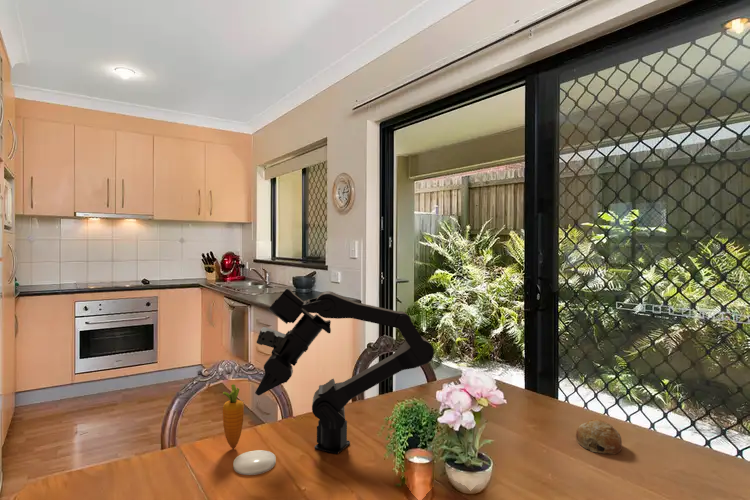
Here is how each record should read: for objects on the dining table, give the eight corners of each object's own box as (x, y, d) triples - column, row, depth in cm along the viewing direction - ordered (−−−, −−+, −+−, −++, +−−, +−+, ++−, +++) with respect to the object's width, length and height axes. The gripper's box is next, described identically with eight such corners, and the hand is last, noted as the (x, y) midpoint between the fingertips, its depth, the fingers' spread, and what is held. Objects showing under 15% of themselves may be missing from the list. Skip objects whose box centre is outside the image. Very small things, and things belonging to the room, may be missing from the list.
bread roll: (576, 461, 108) (577, 437, 104) (574, 429, 116) (575, 406, 113) (622, 469, 104) (625, 445, 100) (617, 435, 112) (619, 412, 109)
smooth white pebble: (283, 459, 100) (283, 455, 100) (257, 478, 92) (257, 474, 92) (252, 451, 104) (252, 447, 104) (224, 468, 95) (224, 464, 95)
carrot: (237, 454, 102) (237, 390, 102) (218, 452, 103) (218, 388, 103) (248, 445, 107) (248, 383, 107) (229, 443, 108) (229, 382, 108)
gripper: (279, 309, 114) (241, 356, 113) (269, 322, 95) (223, 379, 95) (313, 335, 115) (275, 382, 114) (310, 353, 96) (264, 410, 96)
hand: (260, 387), depth 105 cm, fingers open, 9 cm apart
